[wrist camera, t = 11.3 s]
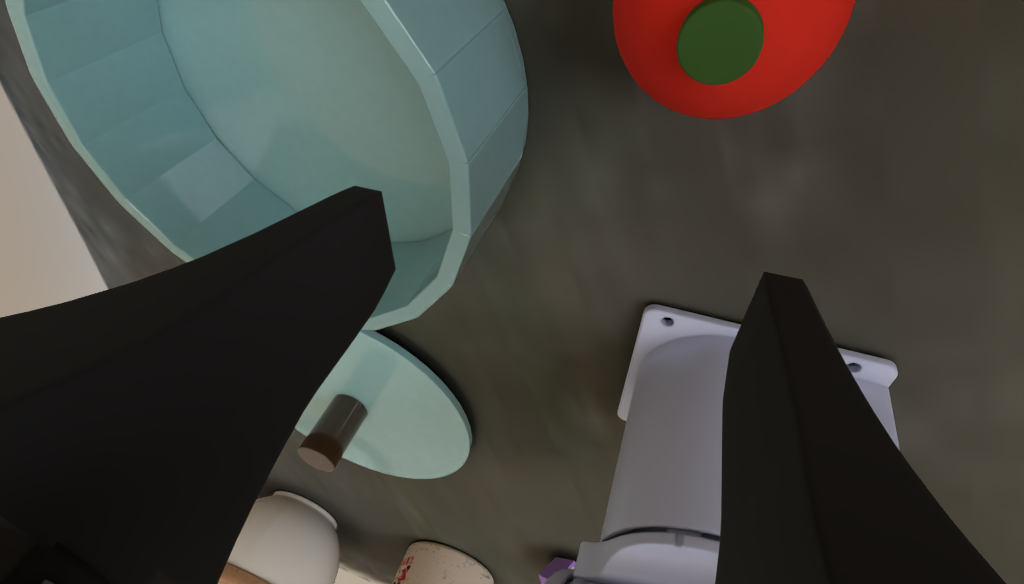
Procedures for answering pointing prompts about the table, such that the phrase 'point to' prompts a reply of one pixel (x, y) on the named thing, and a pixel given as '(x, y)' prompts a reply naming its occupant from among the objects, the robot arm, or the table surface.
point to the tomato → (726, 50)
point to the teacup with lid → (439, 566)
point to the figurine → (555, 568)
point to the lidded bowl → (284, 544)
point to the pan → (292, 117)
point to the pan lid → (385, 415)
